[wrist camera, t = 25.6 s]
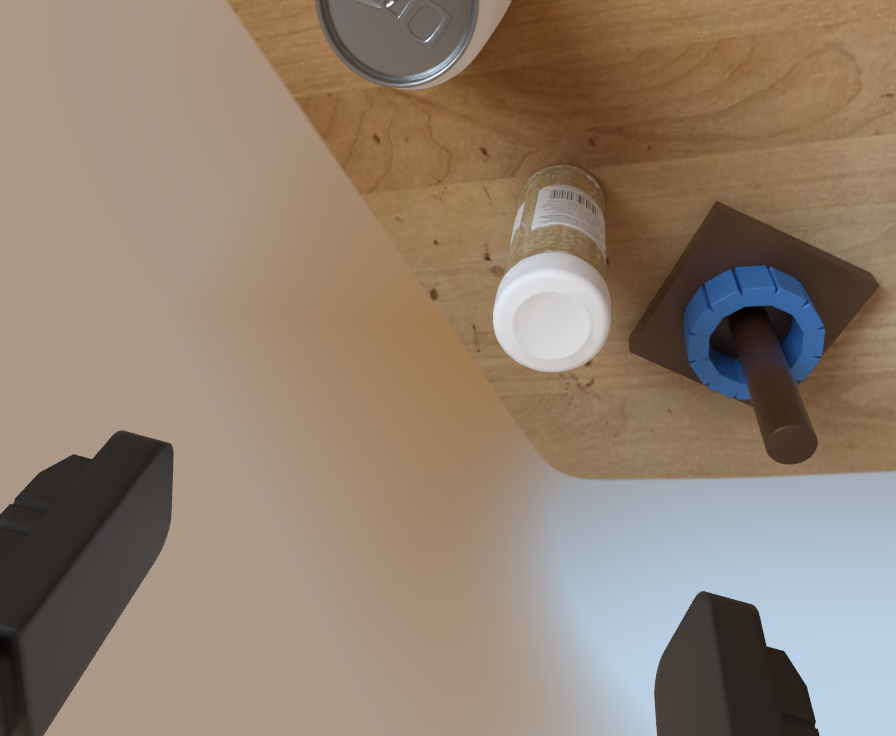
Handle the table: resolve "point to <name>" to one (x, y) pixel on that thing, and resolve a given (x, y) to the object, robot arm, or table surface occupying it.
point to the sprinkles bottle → (555, 273)
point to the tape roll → (748, 291)
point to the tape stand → (754, 318)
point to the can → (408, 37)
